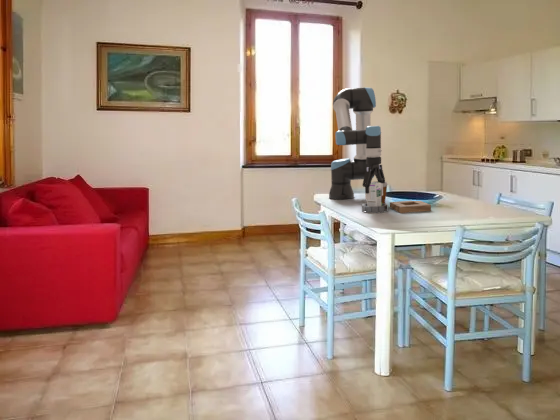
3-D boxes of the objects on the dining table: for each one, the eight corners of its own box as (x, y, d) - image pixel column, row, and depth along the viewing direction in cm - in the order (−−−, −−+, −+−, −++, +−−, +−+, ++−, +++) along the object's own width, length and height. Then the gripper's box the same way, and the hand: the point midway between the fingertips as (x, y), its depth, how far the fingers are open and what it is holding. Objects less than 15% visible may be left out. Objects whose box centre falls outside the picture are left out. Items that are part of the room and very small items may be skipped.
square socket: (389, 207, 272) (389, 202, 272) (418, 205, 274) (418, 200, 274) (400, 213, 257) (400, 207, 256) (430, 210, 259) (430, 204, 258)
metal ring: (369, 207, 276) (369, 201, 275) (391, 209, 268) (391, 203, 267) (357, 211, 266) (357, 206, 265) (380, 213, 258) (380, 207, 257)
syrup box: (376, 211, 263) (376, 183, 260) (366, 210, 267) (366, 183, 264) (382, 210, 267) (382, 182, 264) (372, 209, 271) (372, 181, 268)
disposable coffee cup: (387, 205, 280) (387, 183, 278) (370, 205, 282) (369, 183, 280) (387, 202, 289) (387, 181, 287) (370, 202, 291) (370, 181, 289)
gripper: (368, 158, 250) (369, 201, 254) (391, 154, 269) (391, 194, 273) (355, 158, 255) (356, 200, 258) (378, 154, 274) (378, 193, 278)
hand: (374, 197), depth 266 cm, fingers open, 13 cm apart
